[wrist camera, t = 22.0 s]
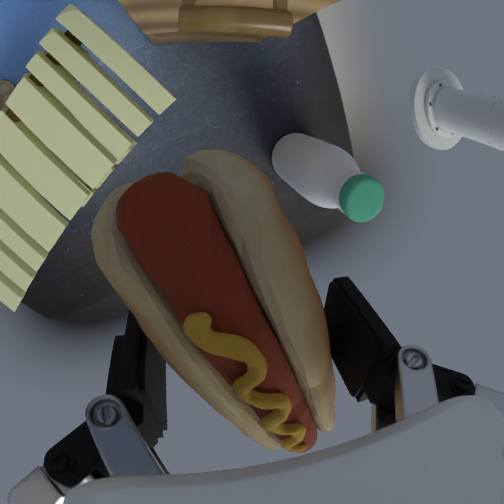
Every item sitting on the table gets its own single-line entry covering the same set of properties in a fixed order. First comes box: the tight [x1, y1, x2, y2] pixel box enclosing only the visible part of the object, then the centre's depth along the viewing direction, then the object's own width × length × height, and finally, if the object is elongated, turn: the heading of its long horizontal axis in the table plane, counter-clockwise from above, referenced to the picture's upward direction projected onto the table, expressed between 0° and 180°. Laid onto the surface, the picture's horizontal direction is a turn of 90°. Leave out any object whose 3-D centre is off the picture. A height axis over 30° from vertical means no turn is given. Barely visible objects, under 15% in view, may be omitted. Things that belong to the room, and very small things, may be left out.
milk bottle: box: [272, 133, 384, 222], centre depth 34 cm, size 8×8×20 cm
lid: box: [118, 0, 340, 38], centre depth 17 cm, size 20×15×5 cm
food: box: [91, 150, 335, 453], centre depth 10 cm, size 14×6×5 cm, turn 19°
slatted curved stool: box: [0, 3, 176, 312], centre depth 26 cm, size 30×16×18 cm, turn 130°
